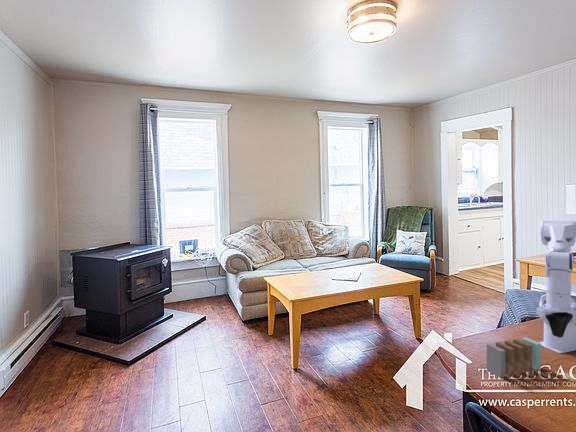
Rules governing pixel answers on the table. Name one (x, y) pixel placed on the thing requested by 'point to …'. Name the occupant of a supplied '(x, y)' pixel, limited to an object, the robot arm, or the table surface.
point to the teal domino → (534, 353)
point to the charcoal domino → (496, 360)
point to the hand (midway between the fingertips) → (557, 336)
